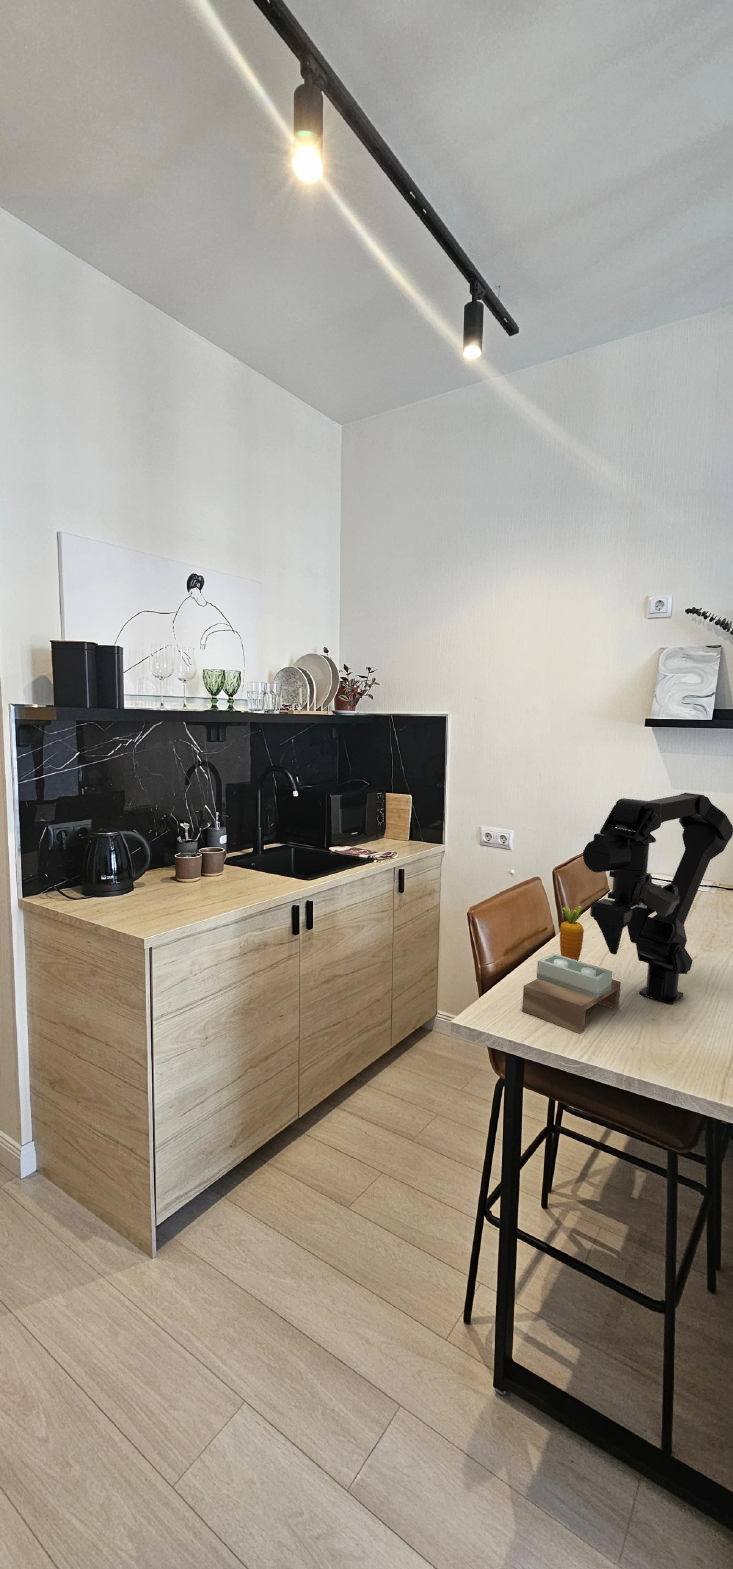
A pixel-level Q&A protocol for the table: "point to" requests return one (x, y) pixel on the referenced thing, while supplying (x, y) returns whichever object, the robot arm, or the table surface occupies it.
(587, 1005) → the walnut shelf
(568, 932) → the carrot
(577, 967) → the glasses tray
